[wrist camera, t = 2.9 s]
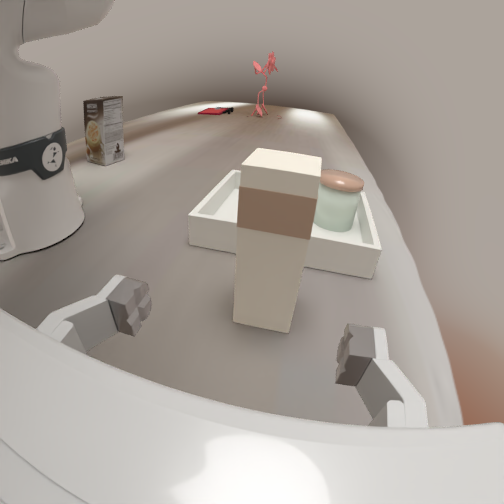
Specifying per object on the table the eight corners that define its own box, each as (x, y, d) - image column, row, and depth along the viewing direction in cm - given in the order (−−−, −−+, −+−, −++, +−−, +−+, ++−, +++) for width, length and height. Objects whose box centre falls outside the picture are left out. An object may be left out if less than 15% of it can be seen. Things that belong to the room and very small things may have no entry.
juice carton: (232, 322, 26) (240, 164, 18) (245, 286, 30) (257, 147, 23) (289, 334, 25) (321, 177, 18) (295, 296, 30) (322, 157, 22)
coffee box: (86, 162, 65) (81, 100, 56) (105, 155, 69) (102, 96, 61) (105, 166, 61) (101, 99, 52) (126, 159, 66) (123, 95, 57)
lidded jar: (309, 227, 40) (317, 180, 36) (311, 208, 45) (318, 166, 41) (355, 236, 39) (366, 189, 35) (351, 216, 44) (361, 175, 40)
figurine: (243, 117, 131) (250, 47, 112) (260, 112, 152) (266, 53, 133) (275, 121, 128) (283, 50, 109) (287, 117, 149) (295, 56, 129)
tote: (189, 244, 36) (188, 215, 34) (231, 191, 51) (232, 169, 49) (371, 279, 33) (381, 250, 31) (359, 214, 48) (364, 192, 45)
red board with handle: (237, 109, 161) (212, 108, 161) (237, 105, 159) (212, 104, 160) (227, 116, 136) (197, 115, 137) (227, 110, 134) (197, 110, 135)
